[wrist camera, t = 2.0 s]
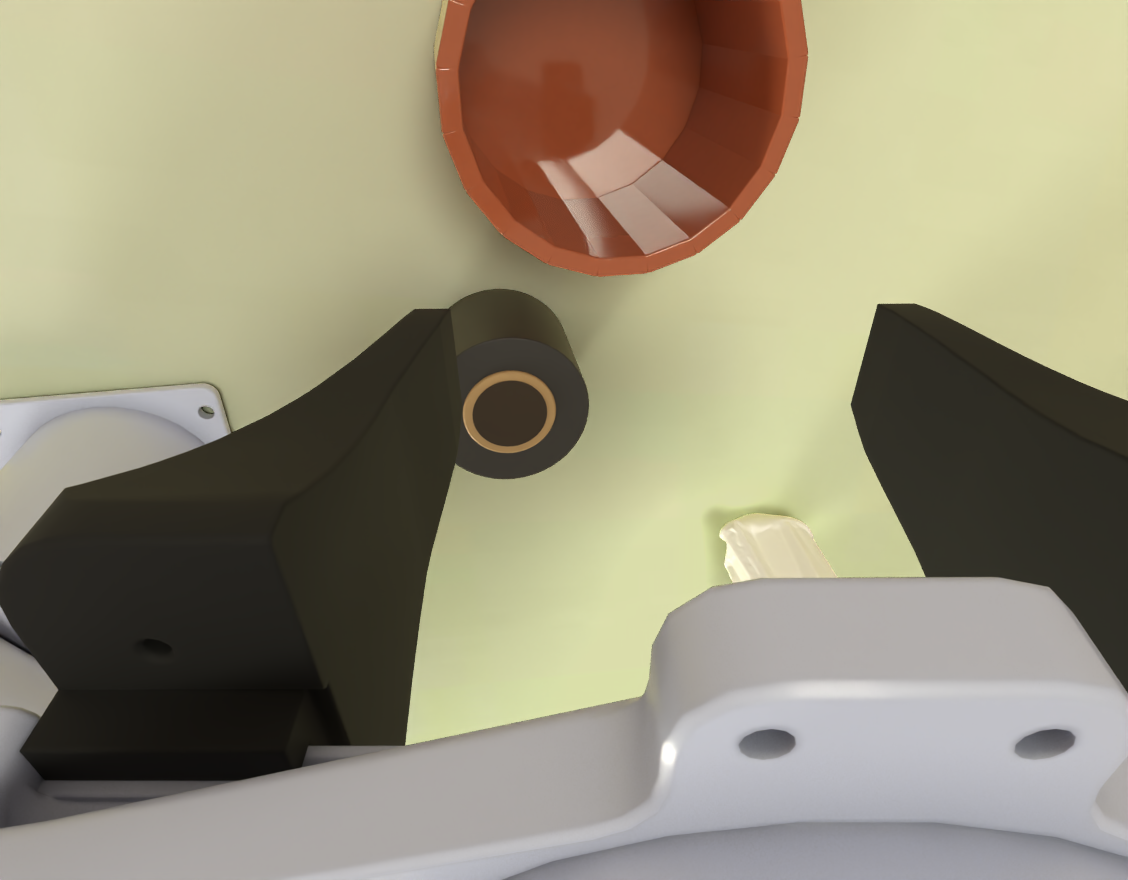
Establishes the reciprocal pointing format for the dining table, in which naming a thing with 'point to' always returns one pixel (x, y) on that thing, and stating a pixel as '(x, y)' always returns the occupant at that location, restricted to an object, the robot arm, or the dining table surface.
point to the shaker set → (772, 549)
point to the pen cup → (618, 120)
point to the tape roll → (515, 385)
